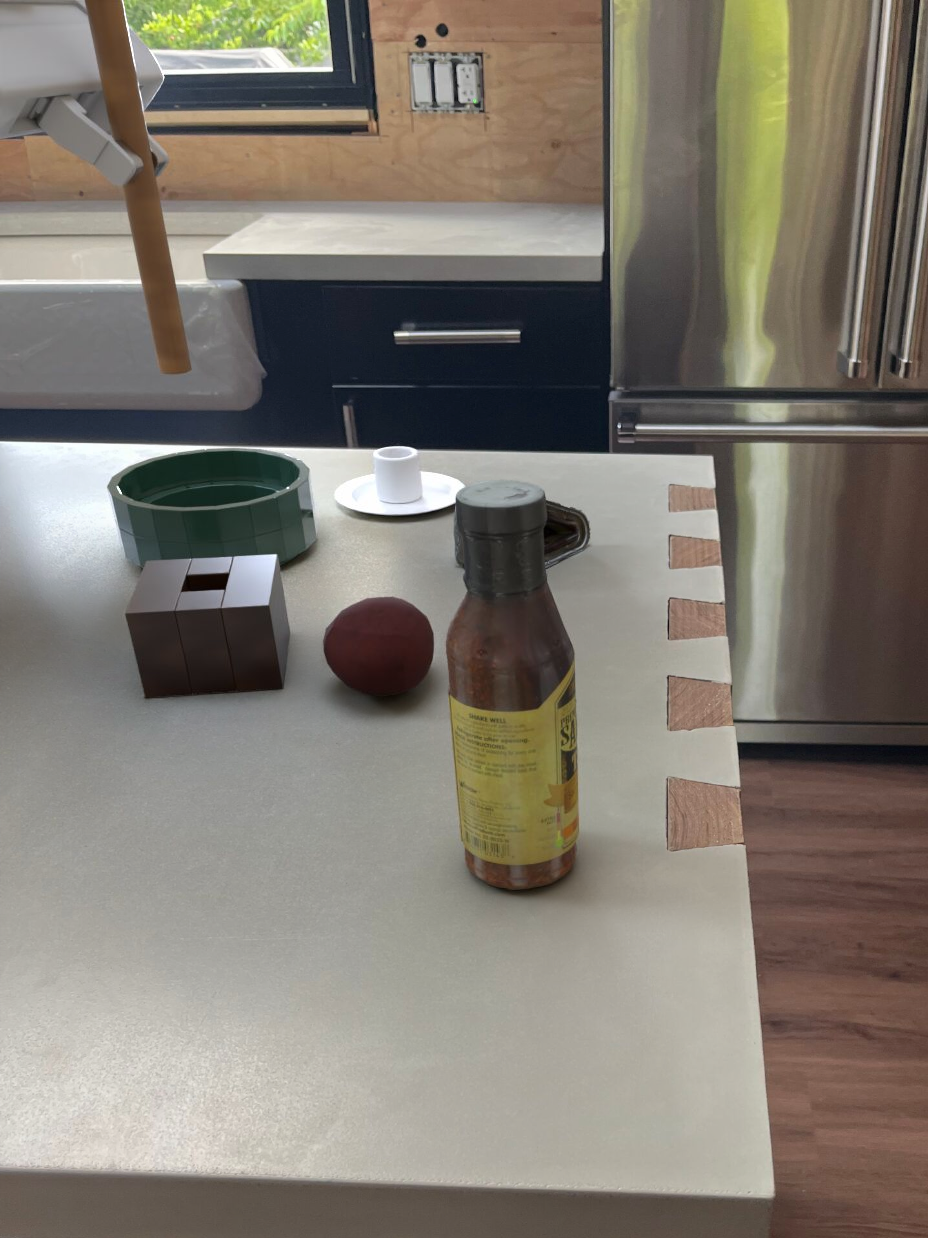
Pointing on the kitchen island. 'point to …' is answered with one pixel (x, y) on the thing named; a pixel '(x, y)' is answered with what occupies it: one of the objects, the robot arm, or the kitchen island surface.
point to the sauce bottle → (511, 694)
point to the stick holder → (209, 625)
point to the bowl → (214, 505)
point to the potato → (380, 646)
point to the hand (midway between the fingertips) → (146, 174)
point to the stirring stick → (139, 183)
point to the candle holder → (398, 486)
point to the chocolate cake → (550, 534)
